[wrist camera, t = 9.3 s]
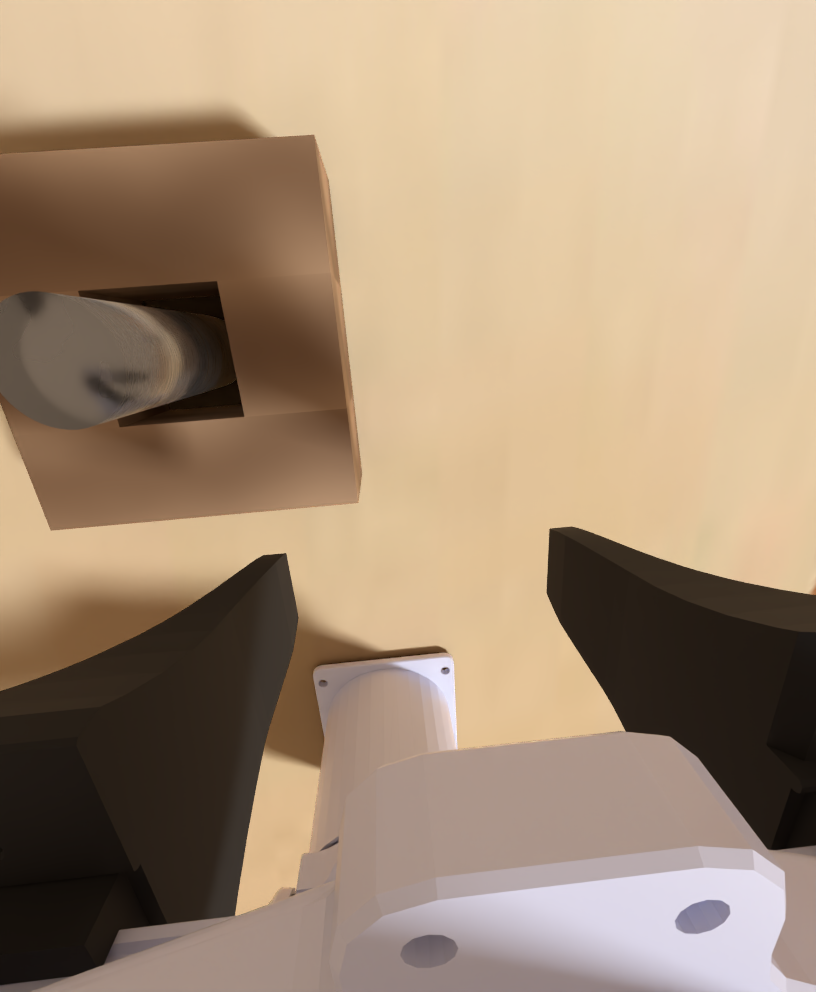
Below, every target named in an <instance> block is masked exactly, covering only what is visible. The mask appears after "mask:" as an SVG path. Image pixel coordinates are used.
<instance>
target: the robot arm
mask: <svg viewBox="0 0 816 992" xmlns="http://www.w3.org/2000/svg"><path fill="white" fill-rule="evenodd" d="M547 595H548V597H549V600H550V602H551V604H552V606H553V609H554V611H555V613H556V615H557V617H558V619H559V621H560V623H561V625H562V627H563V628H564V630H565V631H566V633H567V635H568V636H569V638H570V639H571V641H572V642H573V644H574V646H575V647H576V649H577V650H578V652H579V653H580V655H581V656H582V658H583V659H584V661H585V663H586V664H587V666H588V667H589V669H590V670H591V672H592V673H593V675H594V676H595V678H596V679H597V681H598V683H599V684H600V686H601V687H602V689H603V690H604V692H605V694H606V695H607V697H608V699H609V700H610V702H611V704H612V705H613V707H614V709H615V711H616V713H617V715H618V717H619V719H620V721H621V723H622V725H623V727H624V729H625V731H626V732H623V731H618V732H609V733H600V734H591V735H582V736H573V737H564V738H555V739H546V740H537V741H528V742H518V743H509V744H500V745H491V746H482V747H473V748H464V749H457V729H456V706H455V683H454V662H453V658H452V656H451V655H450V654H449V653H436V654H426V655H416V656H406V657H397V658H387V659H377V660H367V661H357V662H348V663H338V664H328V665H320V666H317V667H316V668H315V669H314V673H313V680H314V685H315V690H316V696H317V701H318V706H319V712H320V717H321V722H322V728H323V733H324V738H325V740H324V747H323V754H322V762H321V769H320V776H319V784H318V791H317V798H316V806H315V813H314V820H313V828H312V835H311V842H310V849H309V853H304V854H303V855H302V856H301V862H300V869H299V875H298V882H297V889H296V891H295V888H280V889H279V890H278V891H277V892H276V893H275V895H274V897H273V900H271V901H270V903H269V904H268V905H266V906H263V907H261V908H258V909H255V910H252V911H250V912H247V913H244V914H241V915H238V916H235V911H236V904H237V896H238V890H239V884H240V877H241V871H242V865H243V859H244V853H245V846H246V840H247V834H248V828H249V823H250V817H251V812H252V806H253V801H254V795H255V790H256V785H257V780H258V775H259V770H260V765H261V760H262V755H263V750H264V745H265V741H266V737H267V734H268V730H269V726H270V723H271V720H272V717H273V713H274V710H275V707H276V704H277V701H278V698H279V694H280V691H281V688H282V685H283V682H284V679H285V675H286V672H287V669H288V666H289V662H290V659H291V656H292V652H293V648H294V642H295V637H296V630H297V623H298V613H297V608H296V602H295V597H294V592H293V587H292V581H291V576H290V571H289V566H288V560H287V555H286V553H284V554H273V555H263V556H261V557H259V558H258V559H256V560H255V561H253V562H252V563H250V564H249V565H247V566H246V567H245V568H243V569H242V570H240V571H239V572H238V573H236V574H235V575H234V576H232V577H231V578H229V579H228V580H227V581H225V582H224V583H222V584H221V585H220V586H218V587H217V588H216V589H214V590H213V591H211V592H210V593H208V594H207V595H205V596H204V597H202V598H201V599H199V600H198V601H196V602H195V603H193V604H192V605H190V606H188V607H187V608H185V609H184V610H182V611H181V612H179V613H178V614H176V615H174V616H173V617H171V618H169V619H167V620H166V621H164V622H162V623H160V624H159V625H157V626H155V627H153V628H151V629H149V630H147V631H146V632H144V633H142V634H140V635H138V636H136V637H134V638H132V639H130V640H128V641H125V642H123V643H121V644H119V645H117V646H115V647H113V648H110V649H108V650H106V651H104V652H102V653H100V654H98V655H95V656H93V657H91V658H89V659H86V660H84V661H81V662H79V663H76V664H74V665H72V666H69V667H67V668H64V669H62V670H59V671H56V672H54V673H51V674H48V675H46V676H43V677H40V678H38V679H35V680H32V681H29V682H27V683H24V684H21V685H18V686H15V687H12V688H9V689H6V690H3V691H0V992H816V595H810V594H803V593H797V592H791V591H785V590H779V589H774V588H769V587H764V586H759V585H754V584H749V583H744V582H740V581H735V580H731V579H727V578H723V577H719V576H715V575H712V574H708V573H704V572H701V571H697V570H693V569H690V568H687V567H683V566H680V565H677V564H674V563H671V562H668V561H665V560H662V559H659V558H656V557H653V556H651V555H648V554H645V553H643V552H640V551H637V550H635V549H632V548H629V547H627V546H624V545H622V544H619V543H617V542H614V541H612V540H609V539H607V538H604V537H601V536H599V535H596V534H594V533H591V532H588V531H585V530H582V529H579V528H575V527H563V528H552V529H550V532H549V553H548V575H547ZM444 667H448V668H447V669H445V670H443V669H442V668H444ZM321 680H325V681H326V682H321Z"/></svg>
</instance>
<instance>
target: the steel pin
mask: <svg viewBox="0 0 816 992" xmlns="http://www.w3.org/2000/svg"><path fill="white" fill-rule="evenodd" d="M236 379H237V377H236V372H235V367H234V362H233V358H232V353H231V348H230V343H229V338H228V333H227V328H226V323H225V321H223V320H221V319H220V318H217V317H214V316H210V315H203V314H196V313H189V312H182V311H175V310H168V309H161V308H154V307H147V306H140V305H133V304H126V303H119V302H112V301H105V300H97V299H90V298H83V297H76V296H69V295H62V294H55V293H48V292H40V291H29V292H23V293H18V294H15V295H12V296H10V297H8V298H6V299H4V300H3V301H2V302H0V393H1V394H2V395H3V396H4V397H5V399H6V400H7V401H8V402H9V403H10V404H11V405H13V406H14V407H15V408H16V409H17V410H19V411H20V412H21V413H23V414H24V415H26V416H27V417H29V418H31V419H33V420H34V421H37V422H39V423H41V424H44V425H47V426H50V427H54V428H58V429H66V430H78V429H85V428H89V427H92V426H95V425H99V424H102V423H105V422H108V421H112V420H115V419H118V418H122V417H125V416H128V415H132V414H135V413H138V412H141V411H145V410H148V409H151V408H155V407H158V406H161V405H164V404H168V403H171V402H174V401H178V400H181V399H184V398H188V397H191V396H194V395H197V394H201V393H204V392H207V391H211V390H214V389H217V388H221V387H224V386H227V385H229V384H231V383H232V382H234V381H235V380H236Z"/></svg>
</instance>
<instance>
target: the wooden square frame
mask: <svg viewBox="0 0 816 992" xmlns="http://www.w3.org/2000/svg"><path fill="white" fill-rule="evenodd" d="M29 291H40V292H48V293H55V294H62V295H69V296H76V297H83V298H90V299H97V300H105V301H112V302H119V303H126V304H133V305H140V306H142V302H141V301H148V300H162V299H176V298H190V297H204V296H217V295H220V299H221V303H222V308H223V313H224V318H225V323H226V328H227V333H228V338H229V343H230V348H231V353H232V358H233V362H234V367H235V372H236V377H237V382H238V387H239V392H240V397H241V402H242V404H240V405H228V406H215V407H203V408H191V409H178V410H170V409H169V405H168V404H164V405H161V406H158V407H155V408H151V409H148V410H145V411H141V412H138V413H135V414H132V415H128V416H125V417H122V418H118V419H115V420H112V421H108V422H105V423H102V424H99V425H95V426H92V427H89V428H85V429H78V430H66V429H58V428H54V427H50V426H47V425H44V424H41V423H39V422H37V421H34V420H33V419H31V418H29V417H27V416H26V415H24V414H23V413H21V412H20V411H19V410H17V409H16V408H15V407H14V406H13V405H11V404H10V403H9V402H8V401H7V400H6V399H5V397H4V396H3V395H2V394H1V393H0V403H1V406H2V408H3V411H4V413H5V416H6V418H7V421H8V423H9V426H10V428H11V431H12V433H13V436H14V438H15V441H16V444H17V446H18V449H19V451H20V454H21V456H22V459H23V461H24V464H25V466H26V469H27V471H28V474H29V476H30V479H31V481H32V484H33V486H34V489H35V492H36V494H37V497H38V499H39V502H40V504H41V507H42V509H43V512H44V514H45V517H46V519H47V522H48V524H49V527H50V529H51V530H62V529H73V528H84V527H95V526H107V525H118V524H129V523H140V522H151V521H162V520H173V519H185V518H196V517H207V516H218V515H229V514H240V513H251V512H263V511H274V510H285V509H296V508H307V507H318V506H329V505H341V504H352V503H358V501H359V493H360V485H361V477H362V469H361V461H360V452H359V443H358V434H357V425H356V417H355V408H354V399H353V390H352V382H351V373H350V364H349V355H348V347H347V338H346V329H345V320H344V312H343V303H342V294H341V285H340V277H339V268H338V259H337V250H336V241H335V233H334V224H333V215H332V206H331V198H330V189H329V180H328V177H327V174H326V171H325V168H324V165H323V162H322V158H321V155H320V152H319V149H318V146H317V143H316V140H315V137H314V135H305V136H288V137H271V138H255V139H238V140H221V141H205V142H188V143H172V144H155V145H138V146H122V147H105V148H88V149H72V150H55V151H39V152H22V153H5V154H0V302H2V301H3V300H4V299H6V298H8V297H10V296H12V295H15V294H18V293H23V292H29Z"/></svg>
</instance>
